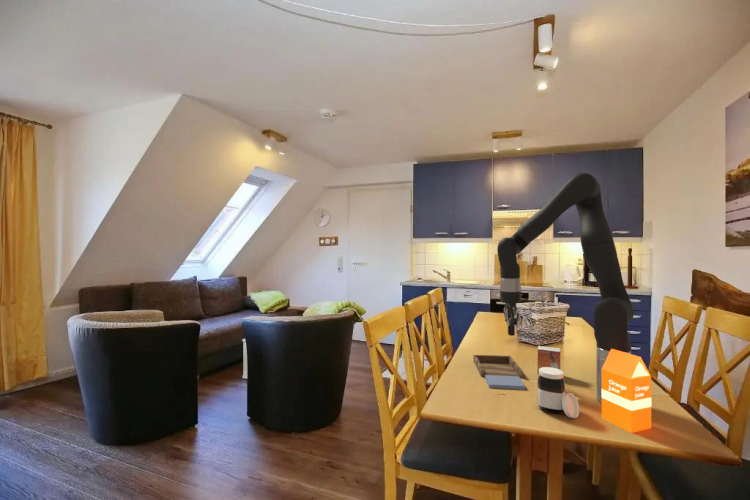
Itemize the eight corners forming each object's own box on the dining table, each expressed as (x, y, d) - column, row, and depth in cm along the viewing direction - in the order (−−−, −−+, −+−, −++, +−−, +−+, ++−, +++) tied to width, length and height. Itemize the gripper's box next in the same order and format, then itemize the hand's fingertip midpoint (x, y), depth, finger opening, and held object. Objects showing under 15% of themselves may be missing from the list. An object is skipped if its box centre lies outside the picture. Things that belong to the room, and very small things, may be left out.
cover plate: (525, 393, 122) (525, 386, 122) (489, 391, 123) (489, 384, 123) (518, 383, 130) (518, 376, 130) (485, 381, 132) (485, 375, 132)
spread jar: (538, 399, 116) (538, 364, 116) (578, 406, 110) (578, 369, 110) (536, 415, 105) (536, 376, 105) (580, 423, 100) (580, 382, 100)
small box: (537, 376, 136) (537, 349, 136) (537, 371, 141) (537, 345, 141) (560, 379, 132) (560, 351, 132) (560, 374, 137) (560, 347, 137)
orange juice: (620, 413, 105) (620, 347, 105) (651, 428, 97) (651, 355, 97) (601, 418, 103) (600, 349, 103) (631, 433, 95) (631, 358, 94)
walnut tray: (522, 380, 132) (522, 370, 132) (481, 378, 134) (481, 369, 134) (510, 364, 150) (510, 355, 150) (473, 362, 152) (473, 354, 152)
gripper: (526, 291, 128) (527, 339, 128) (515, 287, 141) (516, 331, 141) (505, 292, 129) (506, 339, 129) (495, 288, 142) (496, 331, 142)
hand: (511, 335), depth 135 cm, fingers closed
